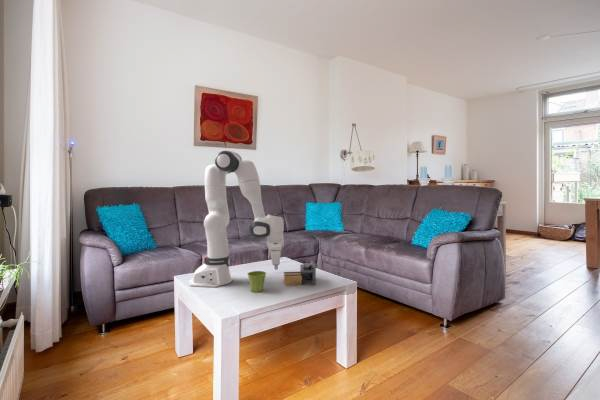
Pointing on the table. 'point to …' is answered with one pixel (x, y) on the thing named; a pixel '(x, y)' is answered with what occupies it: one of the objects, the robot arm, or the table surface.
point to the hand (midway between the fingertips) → (276, 268)
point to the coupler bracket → (308, 271)
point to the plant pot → (256, 280)
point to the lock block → (292, 278)
